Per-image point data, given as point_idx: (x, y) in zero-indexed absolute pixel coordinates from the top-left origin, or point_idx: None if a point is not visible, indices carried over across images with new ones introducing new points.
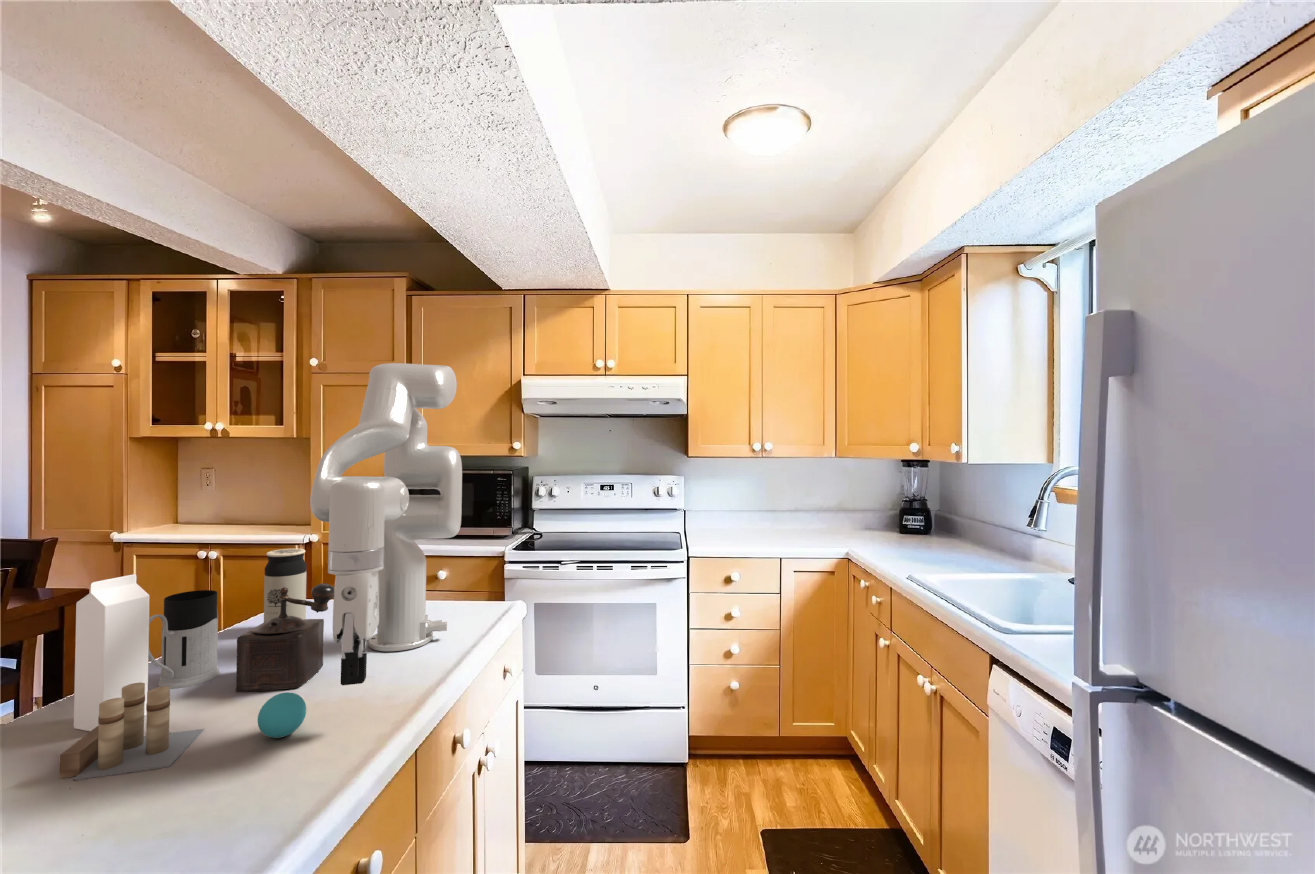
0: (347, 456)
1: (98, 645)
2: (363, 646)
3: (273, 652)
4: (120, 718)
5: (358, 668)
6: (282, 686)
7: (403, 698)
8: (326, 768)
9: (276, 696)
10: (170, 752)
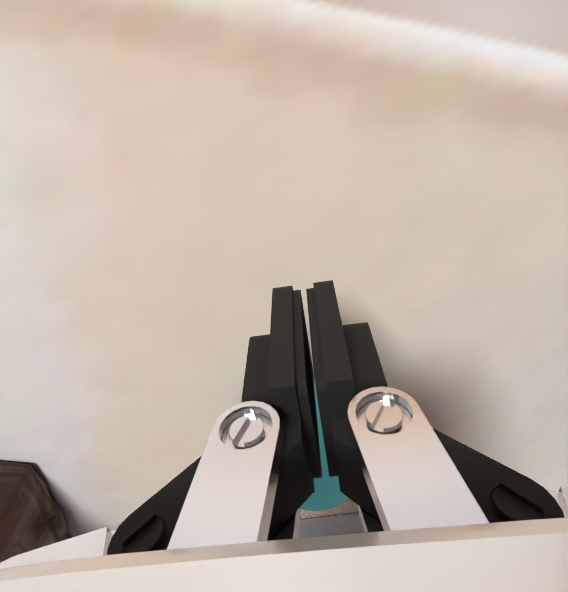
0: None
1: None
2: (278, 453)
3: None
4: None
5: (351, 353)
6: (43, 495)
7: (44, 117)
8: (542, 223)
9: (326, 505)
10: (348, 528)
